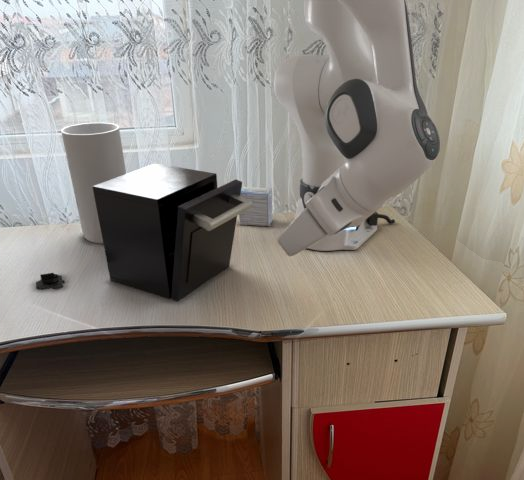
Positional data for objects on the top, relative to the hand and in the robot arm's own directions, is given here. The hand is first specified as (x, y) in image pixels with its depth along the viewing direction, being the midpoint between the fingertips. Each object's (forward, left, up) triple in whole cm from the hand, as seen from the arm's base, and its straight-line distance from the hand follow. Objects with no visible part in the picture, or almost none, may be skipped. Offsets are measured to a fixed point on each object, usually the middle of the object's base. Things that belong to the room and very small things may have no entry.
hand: (292, 244), depth 95 cm
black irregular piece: (+24, -45, -13) cm, 53 cm away
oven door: (+3, -19, -13) cm, 23 cm away
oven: (+5, -30, -13) cm, 33 cm away
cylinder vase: (0, -58, -13) cm, 59 cm away
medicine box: (-29, -35, -13) cm, 47 cm away
